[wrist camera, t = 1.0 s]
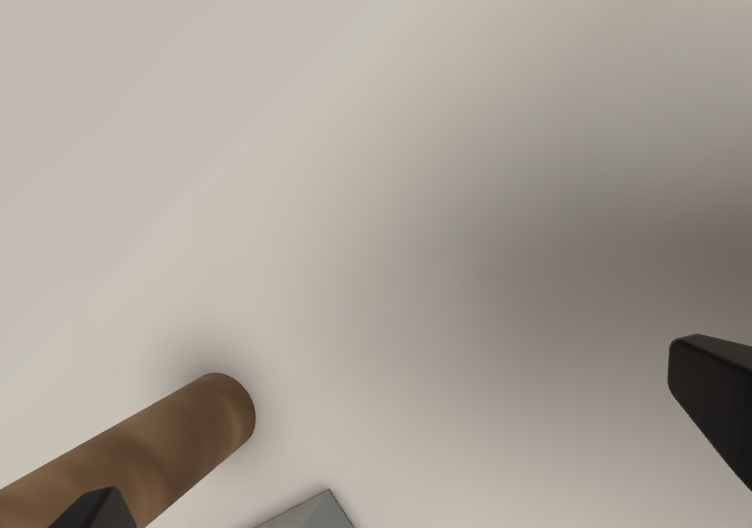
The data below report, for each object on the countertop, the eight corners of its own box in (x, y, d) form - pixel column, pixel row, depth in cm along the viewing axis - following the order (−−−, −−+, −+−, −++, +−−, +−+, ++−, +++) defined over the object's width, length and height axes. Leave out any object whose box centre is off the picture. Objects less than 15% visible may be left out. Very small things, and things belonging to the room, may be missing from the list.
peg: (269, 427, 25) (36, 630, 14) (217, 459, 26) (-33, 667, 15) (225, 359, 25) (-39, 504, 14) (176, 395, 26) (-100, 552, 15)
